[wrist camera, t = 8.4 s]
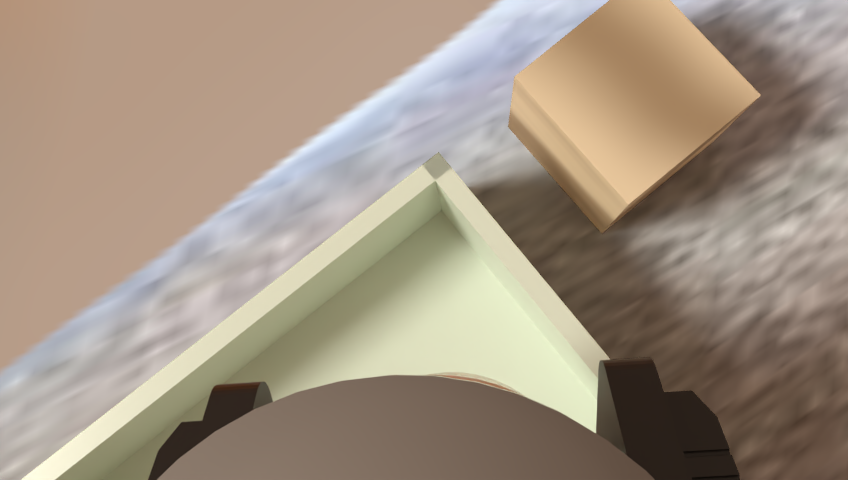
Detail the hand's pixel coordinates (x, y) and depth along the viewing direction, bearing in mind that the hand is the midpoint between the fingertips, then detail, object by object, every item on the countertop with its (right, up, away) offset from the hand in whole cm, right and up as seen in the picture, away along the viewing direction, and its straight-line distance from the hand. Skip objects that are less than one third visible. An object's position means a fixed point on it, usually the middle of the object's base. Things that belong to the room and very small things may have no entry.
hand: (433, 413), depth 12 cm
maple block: (+6, +6, +16) cm, 18 cm away
